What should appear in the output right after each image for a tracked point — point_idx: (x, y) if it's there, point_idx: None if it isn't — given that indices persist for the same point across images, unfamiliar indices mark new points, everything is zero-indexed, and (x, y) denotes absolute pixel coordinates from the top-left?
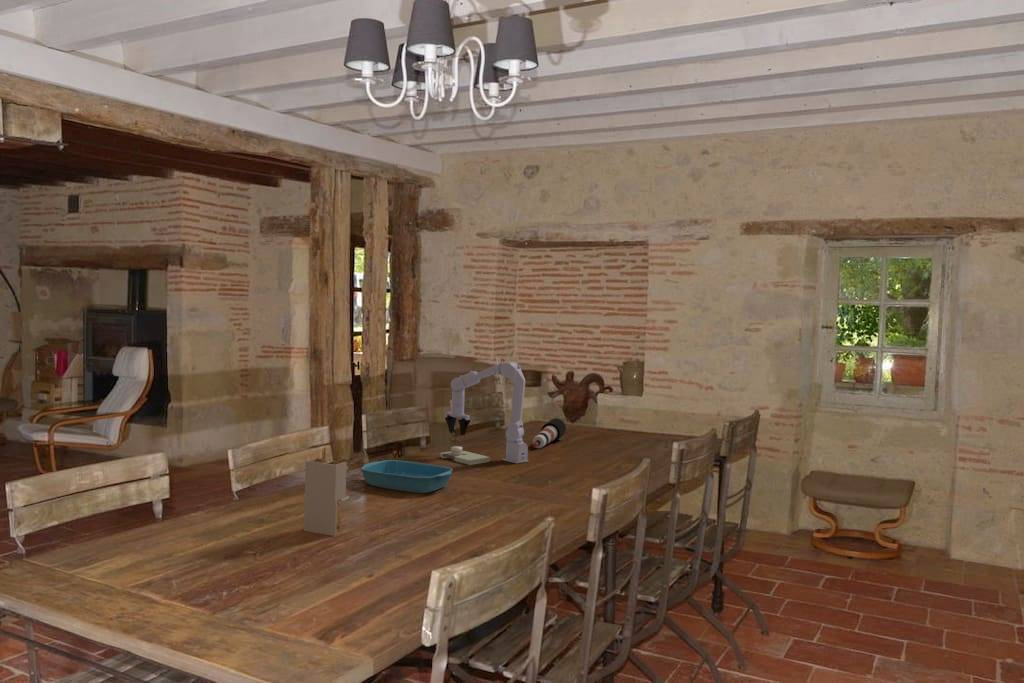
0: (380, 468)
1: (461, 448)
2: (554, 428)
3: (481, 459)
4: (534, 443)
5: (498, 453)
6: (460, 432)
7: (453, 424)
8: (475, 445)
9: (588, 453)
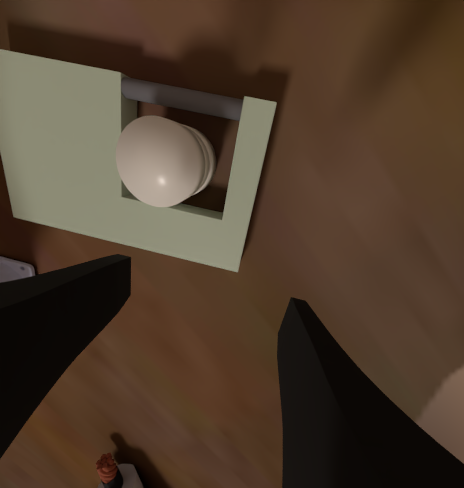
0: None
1: (120, 168)
2: None
3: (7, 154)
4: (99, 468)
5: (142, 360)
6: (106, 262)
7: (291, 424)
8: None
9: (11, 455)
